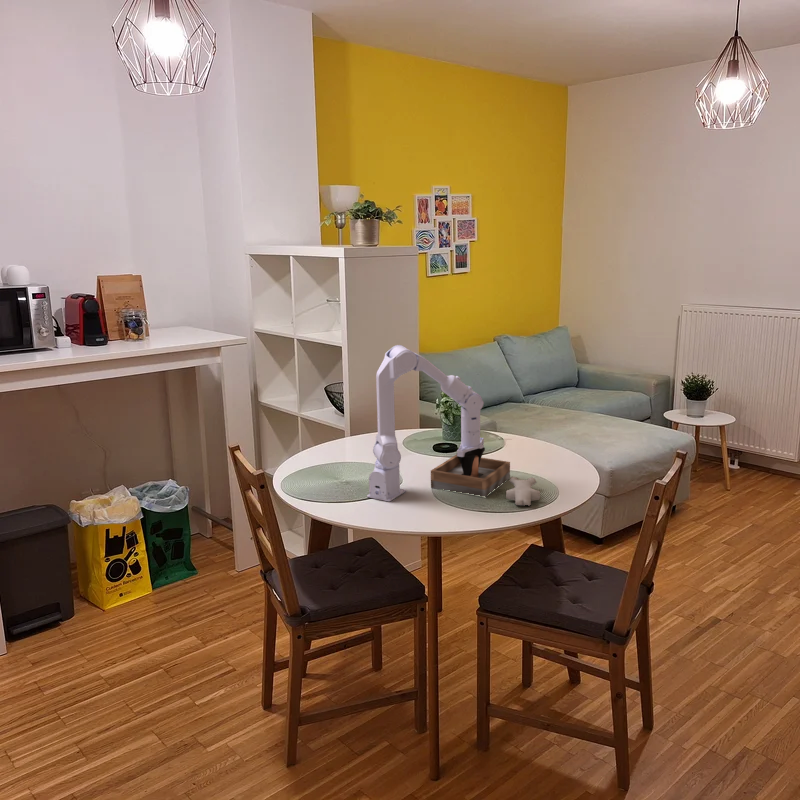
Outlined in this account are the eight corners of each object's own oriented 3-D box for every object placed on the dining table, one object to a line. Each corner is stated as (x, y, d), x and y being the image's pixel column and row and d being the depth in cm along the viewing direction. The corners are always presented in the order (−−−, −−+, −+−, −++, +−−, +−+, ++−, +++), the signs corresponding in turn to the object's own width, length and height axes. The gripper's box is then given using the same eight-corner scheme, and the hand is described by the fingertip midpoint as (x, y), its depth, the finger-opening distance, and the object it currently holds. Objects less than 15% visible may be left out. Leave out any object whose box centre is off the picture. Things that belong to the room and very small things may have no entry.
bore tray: (485, 498, 211) (485, 480, 210) (430, 487, 220) (430, 470, 219) (509, 478, 226) (510, 461, 225) (457, 470, 235) (457, 453, 234)
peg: (474, 482, 220) (474, 460, 218) (461, 479, 222) (461, 458, 220) (480, 477, 224) (480, 456, 222) (467, 475, 226) (467, 454, 224)
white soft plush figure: (505, 494, 203) (506, 470, 217) (505, 510, 205) (506, 486, 219) (540, 495, 201) (539, 471, 215) (540, 512, 203) (538, 487, 217)
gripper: (472, 438, 211) (472, 482, 214) (492, 425, 223) (492, 467, 226) (450, 434, 215) (450, 478, 218) (472, 422, 227) (472, 464, 230)
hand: (470, 472), depth 222 cm, fingers closed on peg, 4 cm apart
